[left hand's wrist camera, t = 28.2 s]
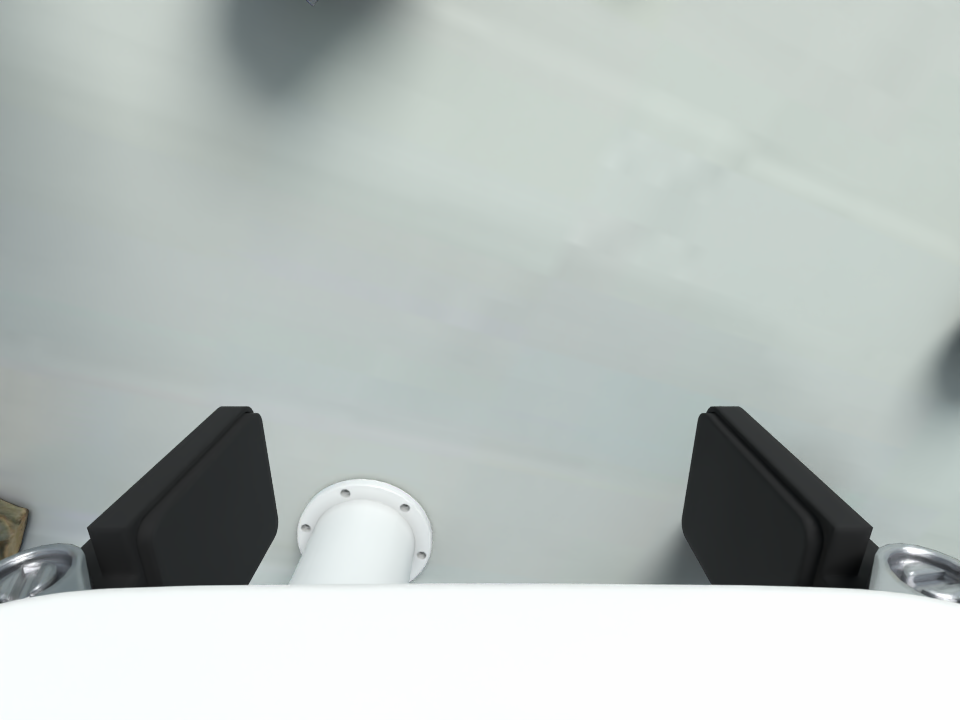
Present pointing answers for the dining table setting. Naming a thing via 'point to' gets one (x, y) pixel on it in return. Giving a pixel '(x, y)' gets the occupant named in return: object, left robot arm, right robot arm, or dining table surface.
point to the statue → (11, 528)
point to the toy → (312, 2)
